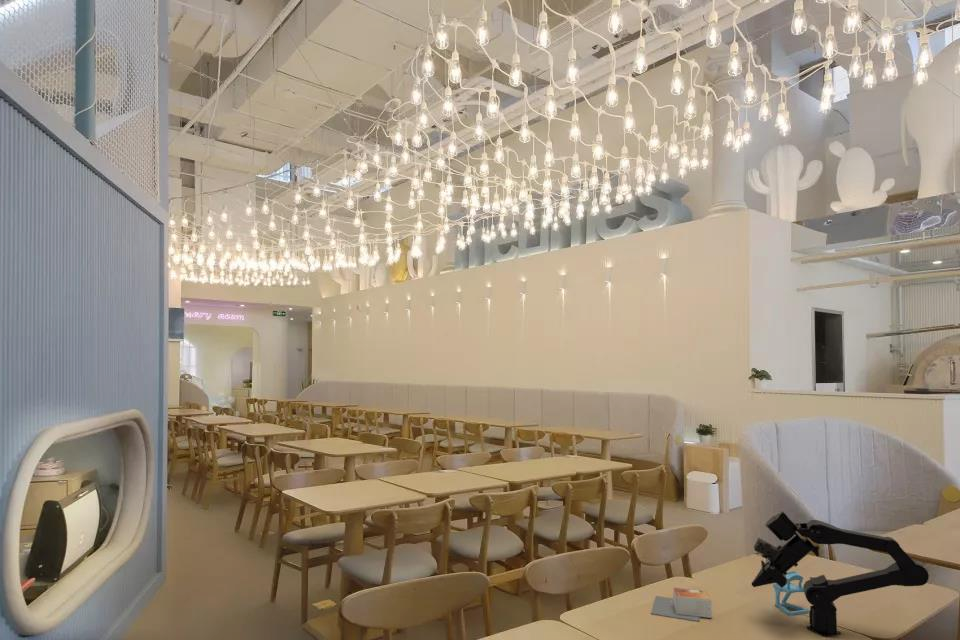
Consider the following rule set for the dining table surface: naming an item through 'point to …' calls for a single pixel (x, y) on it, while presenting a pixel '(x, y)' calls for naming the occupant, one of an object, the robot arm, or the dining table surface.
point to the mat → (669, 609)
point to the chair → (789, 593)
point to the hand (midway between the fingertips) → (752, 585)
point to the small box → (692, 602)
